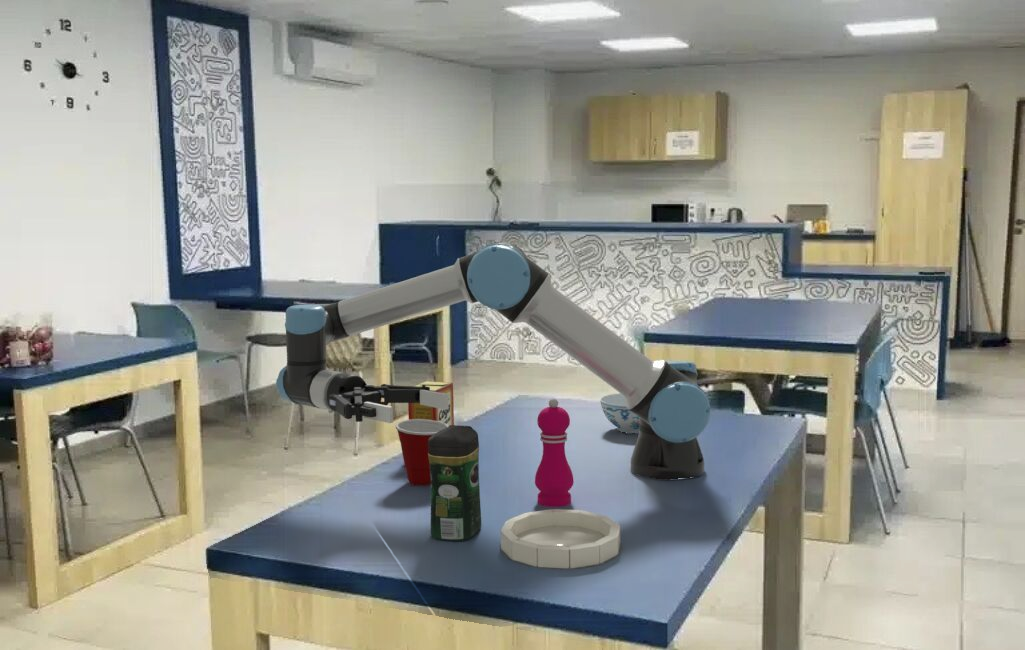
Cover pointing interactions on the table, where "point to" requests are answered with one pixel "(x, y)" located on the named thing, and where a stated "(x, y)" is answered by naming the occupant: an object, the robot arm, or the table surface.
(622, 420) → the chinaware
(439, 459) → the coffee jar
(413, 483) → the plastic cup
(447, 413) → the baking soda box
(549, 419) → the pepper mill
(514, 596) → the table surface
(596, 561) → the bowl
